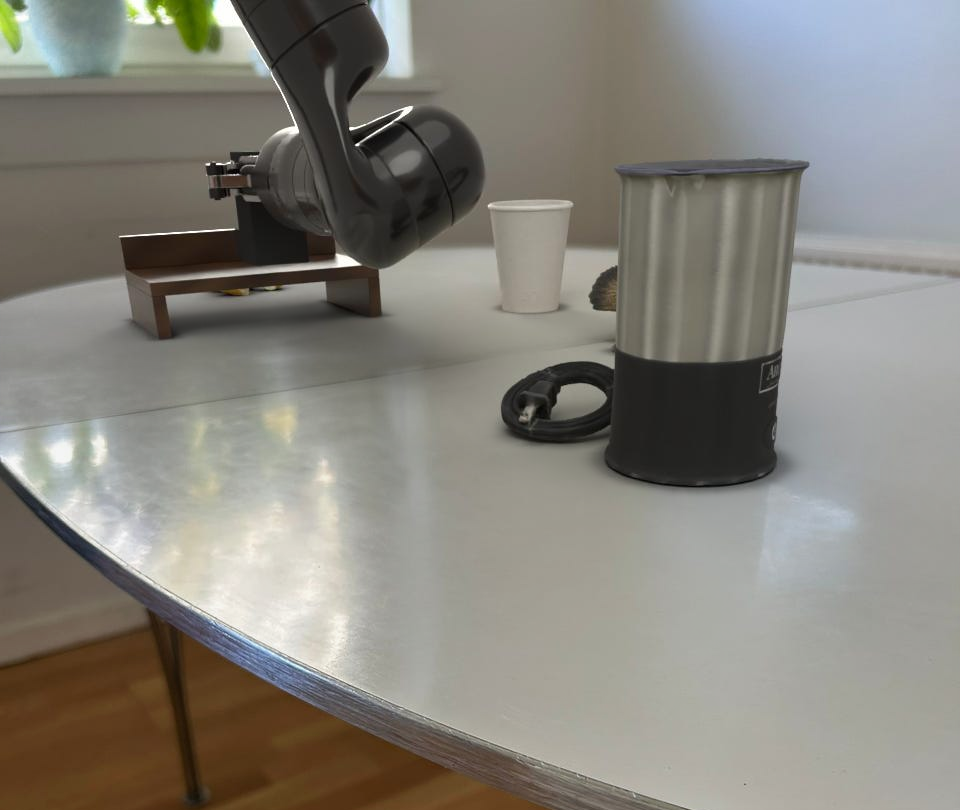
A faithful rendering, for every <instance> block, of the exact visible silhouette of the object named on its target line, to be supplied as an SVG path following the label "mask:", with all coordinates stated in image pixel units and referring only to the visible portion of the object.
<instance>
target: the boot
mask: <svg viewBox="0 0 960 810" xmlns="http://www.w3.org/2000/svg"><path fill="white" fill-rule="evenodd" d="M260 151H261V150H252V151H251V150H246V151H245V150H244V151H243V150H241V151H229V158H230V161H236V163H238V162H239V159H240V157H241V156H258V155H259V153H260ZM234 199H235V207H236V217H237V224H238V227H237V228H233V229H234V230H235V238H236V247H237V255H238V257H240V258H242V259H243V261H244V262H247V263H250V264H253V265H256V266H264V265H278V264H292V263H305V262H309V255H308V244H307V233H306V232H304V231H300V230H295V229H292V228H289V227H287V226H285V225H283V224H281V223H280V222H278V221H277V220H276V219H275V218H273V217H272V216H271V214H270V213H269V212H268V211H267V210H266V208H265V207H264V205H263V204H262V202H249V201H245V199H244V197H243V196H242V195H240V196H234Z"/></svg>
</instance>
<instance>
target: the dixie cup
mask: <svg viewBox="0 0 960 810" xmlns="http://www.w3.org/2000/svg"><path fill="white" fill-rule="evenodd" d="M572 208H574V203H573V202H572V201H571V200H566V199H565V200H564V199H516V200H501V201H493V202H490V203H489V204H488V205H487V209H489V213H490V220H491V221H490V222H491V227H492V237H493V244H494V245H493V246H494V253H495V260H496V267H497V274H498V275H497V276H498V282H499V290H500V299H501V306H502V310H503V311H504V312H508V313H518V314H537V313H538V314H539V313H548V312H553V311H556V310H558V309H559V304H560V297H561V290H562V289H561V288H562V281H563V273H564V265H565V256H566V249H567V242H568V235H569V224H570V218H571V209H572Z"/></svg>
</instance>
